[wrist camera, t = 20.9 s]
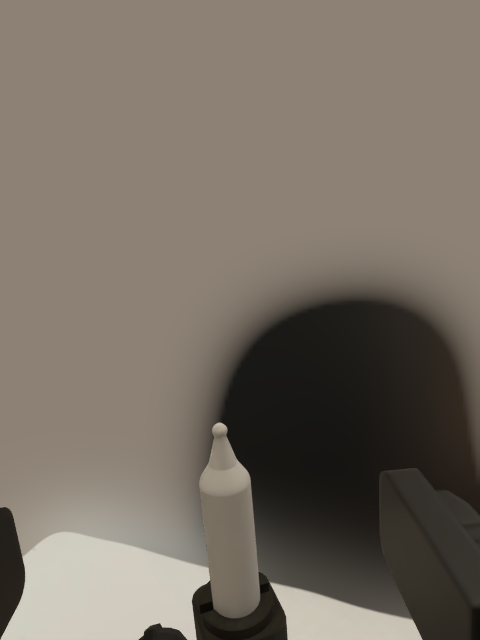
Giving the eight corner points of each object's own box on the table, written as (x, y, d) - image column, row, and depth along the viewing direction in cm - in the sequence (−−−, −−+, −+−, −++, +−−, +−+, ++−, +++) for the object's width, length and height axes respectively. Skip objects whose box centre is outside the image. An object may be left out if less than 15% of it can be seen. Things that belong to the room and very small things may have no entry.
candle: (207, 737, 33) (166, 415, 27) (273, 710, 34) (247, 398, 28) (227, 824, 28) (182, 455, 22) (303, 788, 29) (279, 433, 24)
